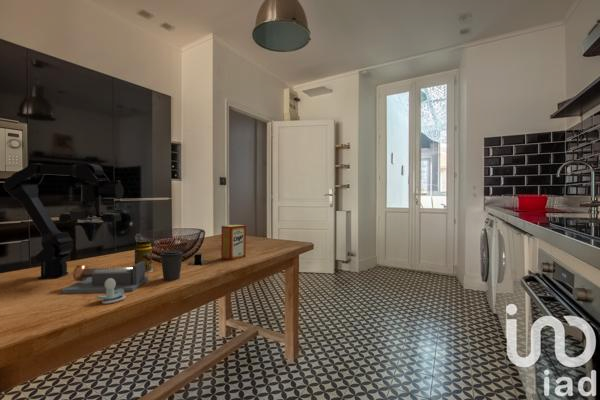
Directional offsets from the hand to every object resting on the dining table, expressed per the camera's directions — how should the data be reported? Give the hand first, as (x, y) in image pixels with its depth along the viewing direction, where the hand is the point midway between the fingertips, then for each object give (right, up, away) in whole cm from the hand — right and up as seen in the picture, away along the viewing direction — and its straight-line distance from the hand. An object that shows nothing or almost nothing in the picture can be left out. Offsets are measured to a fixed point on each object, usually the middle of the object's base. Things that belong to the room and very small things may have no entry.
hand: (90, 241), depth 107 cm
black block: (+31, -14, +24) cm, 41 cm away
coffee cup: (+30, -14, -1) cm, 33 cm away
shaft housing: (+14, -13, -11) cm, 22 cm away
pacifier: (+23, -14, -24) cm, 36 cm away
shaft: (+13, -11, -11) cm, 21 cm away
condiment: (+14, -13, +8) cm, 21 cm away
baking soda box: (+44, -13, +35) cm, 58 cm away
